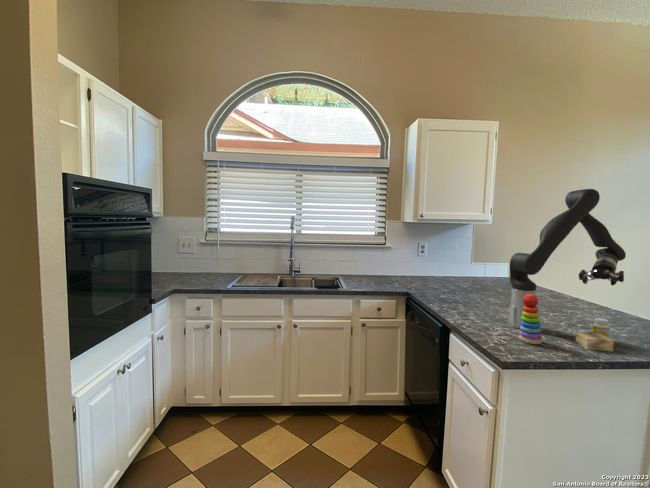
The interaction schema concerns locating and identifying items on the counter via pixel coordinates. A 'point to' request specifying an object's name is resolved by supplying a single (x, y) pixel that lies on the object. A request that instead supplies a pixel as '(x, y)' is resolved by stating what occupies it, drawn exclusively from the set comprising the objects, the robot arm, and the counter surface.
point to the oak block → (594, 341)
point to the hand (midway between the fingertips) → (598, 282)
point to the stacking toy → (530, 321)
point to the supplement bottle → (601, 326)
